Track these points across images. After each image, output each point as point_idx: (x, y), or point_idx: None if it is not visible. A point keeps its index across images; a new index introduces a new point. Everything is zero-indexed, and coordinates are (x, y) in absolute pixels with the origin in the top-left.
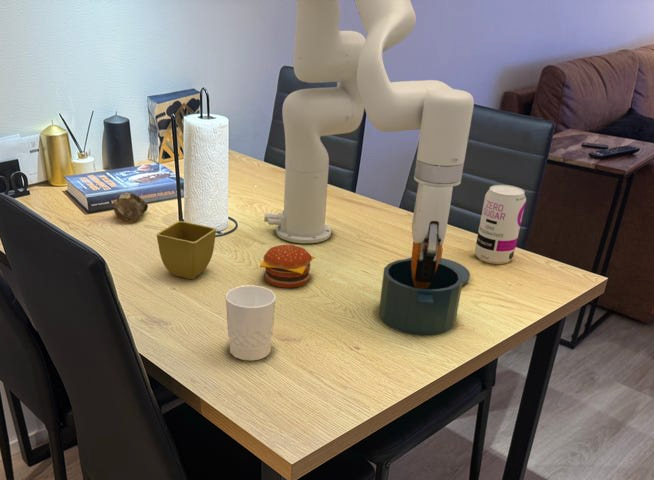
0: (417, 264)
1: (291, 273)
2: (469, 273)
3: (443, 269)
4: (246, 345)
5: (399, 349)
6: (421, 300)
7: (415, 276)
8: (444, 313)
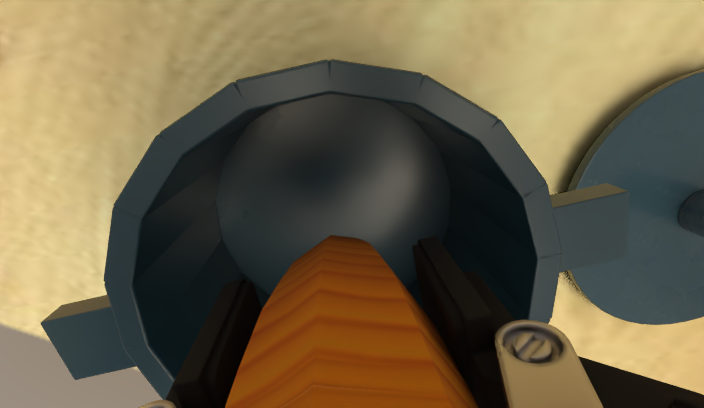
0: (188, 356)
1: None
2: (682, 321)
3: None
4: None
5: (82, 200)
6: (55, 334)
7: (219, 295)
8: None
